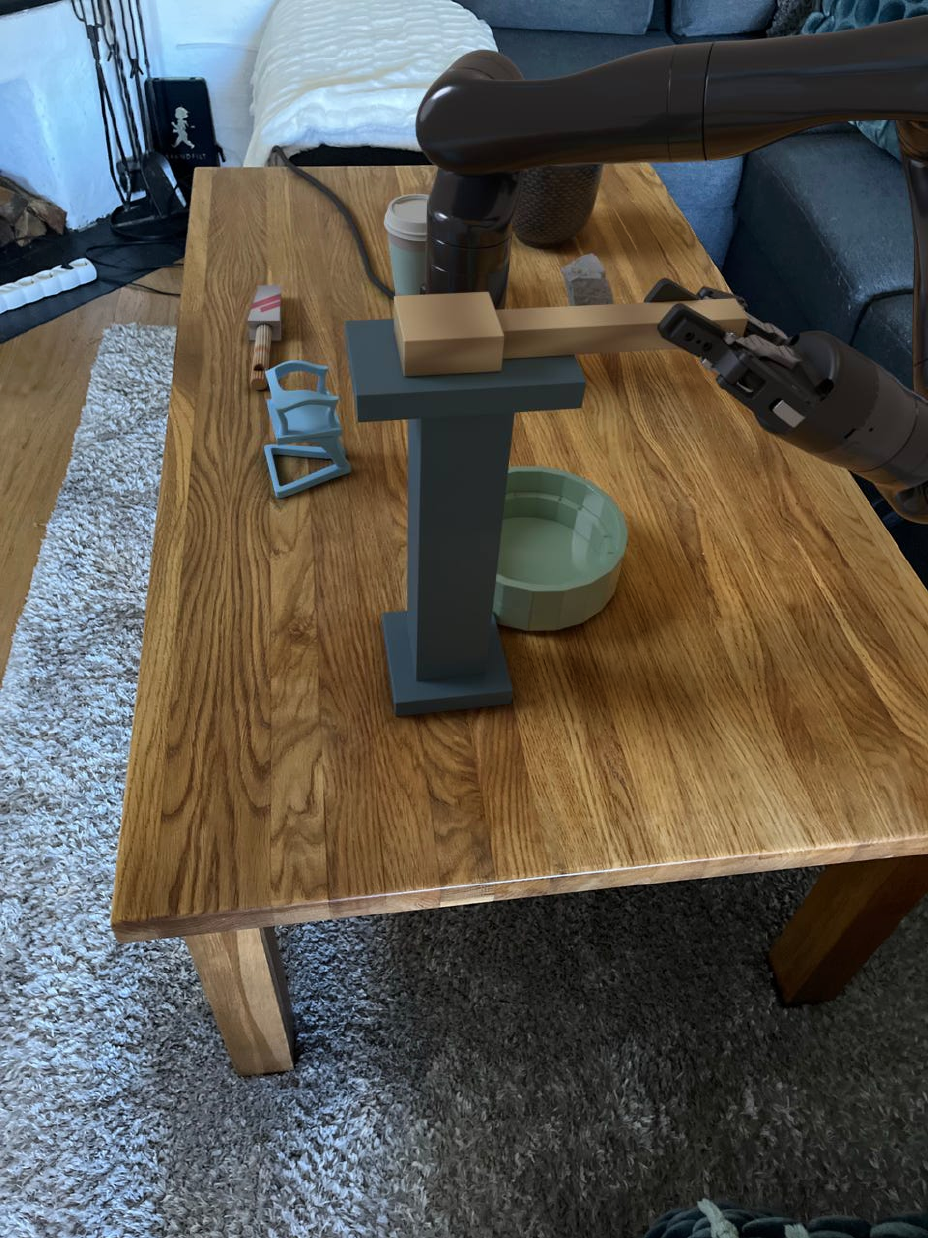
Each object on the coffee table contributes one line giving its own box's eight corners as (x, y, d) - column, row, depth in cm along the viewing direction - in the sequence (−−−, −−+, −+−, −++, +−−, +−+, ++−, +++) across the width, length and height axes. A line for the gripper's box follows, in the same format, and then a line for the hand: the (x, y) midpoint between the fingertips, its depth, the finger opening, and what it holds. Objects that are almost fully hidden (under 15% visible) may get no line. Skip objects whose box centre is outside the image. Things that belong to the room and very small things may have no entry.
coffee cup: (459, 289, 124) (464, 199, 114) (437, 322, 118) (440, 230, 109) (399, 275, 125) (399, 186, 116) (374, 307, 120) (372, 215, 111)
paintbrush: (284, 274, 118) (273, 374, 106) (286, 294, 120) (275, 394, 108) (253, 274, 117) (238, 374, 105) (256, 293, 120) (241, 393, 107)
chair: (355, 486, 97) (351, 390, 88) (275, 499, 95) (262, 402, 86) (340, 440, 102) (335, 344, 93) (264, 451, 100) (250, 355, 91)
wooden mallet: (404, 377, 56) (403, 340, 54) (393, 331, 59) (393, 295, 58) (747, 357, 59) (758, 322, 58) (720, 314, 63) (730, 280, 61)
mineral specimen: (595, 294, 123) (613, 243, 116) (619, 341, 120) (639, 292, 113) (544, 299, 121) (559, 248, 114) (567, 348, 118) (584, 298, 111)
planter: (594, 263, 130) (610, 168, 120) (494, 257, 129) (502, 162, 120) (587, 215, 139) (601, 123, 129) (494, 210, 139) (501, 117, 129)
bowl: (411, 557, 91) (411, 511, 87) (536, 489, 98) (542, 444, 94) (525, 664, 83) (532, 620, 79) (651, 581, 91) (664, 537, 86)
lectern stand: (371, 719, 78) (358, 405, 54) (360, 629, 85) (343, 311, 61) (533, 701, 81) (590, 391, 56) (510, 614, 87) (552, 302, 63)
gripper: (833, 309, 69) (666, 200, 61) (923, 426, 60) (742, 318, 52) (760, 386, 74) (594, 294, 65) (834, 505, 65) (653, 417, 56)
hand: (661, 305), depth 58 cm, fingers closed on wooden mallet, 2 cm apart
